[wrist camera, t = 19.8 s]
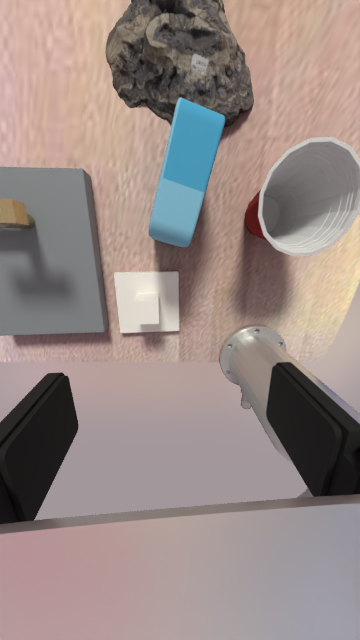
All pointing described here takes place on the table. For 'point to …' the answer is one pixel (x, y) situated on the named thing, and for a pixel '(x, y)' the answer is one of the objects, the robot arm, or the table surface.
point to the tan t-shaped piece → (14, 215)
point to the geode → (179, 58)
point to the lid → (147, 301)
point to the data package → (185, 172)
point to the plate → (51, 255)
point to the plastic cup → (308, 197)
